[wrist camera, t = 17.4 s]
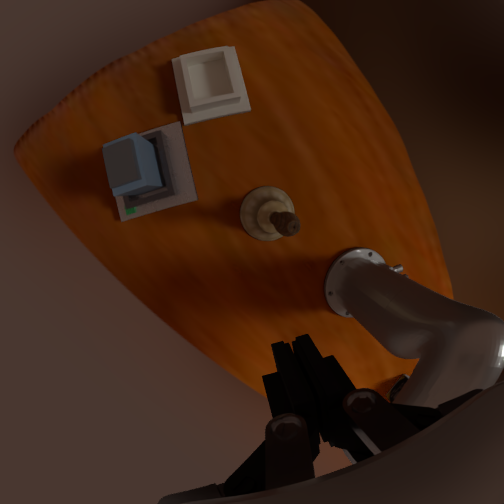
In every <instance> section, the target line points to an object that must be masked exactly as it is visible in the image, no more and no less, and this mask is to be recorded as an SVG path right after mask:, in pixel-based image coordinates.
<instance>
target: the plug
mask: <svg viewBox="0 0 504 504" xmlns="http://www.w3.org/2000/svg"><path fill="white" fill-rule="evenodd" d="M102 152H103V157H104V162H105V167H106V172H107V177H108V181H109V186H110V188H112V191H113V195H114V197H115V196H129V195H142V194H145V193H148V192H151V191H154V190H157V189H160V188H164V187H166V183H165V179H164V174H163V170H162V166H161V162H160V157H159V153H158V148H157V147H156V146H154V145H153V144H152V143H150V142H149V141H147V140H146V139H144V138H143V137H142V136H140V135H139V134H137V133H136V132H135V133H132V134H130V135H127V136H124V137H122V138H119V139H116V140H114V141H111V142H109V143H106V144H104V145H103V148H102Z"/></svg>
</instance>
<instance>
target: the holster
mask: <svg viewBox="0 0 504 504" xmlns="http://www.w3.org/2000/svg"><path fill="white" fill-rule="evenodd" d="M172 65H173V70H174V75H175V81H176V86H177V91H178V96H179V101H180V106H181V111H182V115H183V120H184V125H185V126H186V125H190V124H194V123H198V122H202V121H206V120H210V119H215V118H219V117H224V116H229V115H234V114H239V113H244V112H250V111H251V108H250V104H249V100H248V96H247V92H246V88H245V84H244V81H243V77H242V73H241V69H240V66H239V62H238V58H237V55H236V51H235V47H234V46H233V47H228V46H224V47H218V48H212V49H207V50H202V51H197V52H193V53H189V54H184V55H180V57H178V58H175V59H172Z"/></svg>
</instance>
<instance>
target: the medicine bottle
mask: <svg viewBox="0 0 504 504" xmlns="http://www.w3.org/2000/svg"><path fill="white" fill-rule="evenodd" d="M409 377H410V376H408V375H405V374H403V375H402V376H401V377H400V379H399V380H398V381H397V382H396V383H395V385H394V386H393V387H392V388H391V389H390V391H389V392H388V393H387V394H386V397H387V398H388V400H389V401H390V402H391V403H392V402H393V401H394V399H395V398H396V397H397V395H398V394H399V392H400V391H401V389H402V388H403V386H404V385H405V383H406V382H407V380H408V379H409Z"/></svg>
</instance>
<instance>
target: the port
mask: <svg viewBox="0 0 504 504" xmlns="http://www.w3.org/2000/svg"><path fill="white" fill-rule="evenodd" d="M139 135H140V136H142V137H143V138H144V139H146V140H147V141H149V142H150V143H152V144H153V145H154V146H156V147H157V148H158V153H159V157H160V162H161V166H162V170H163V174H164V179H165V183H166V187H164V188H160V189H157V190H154V191H151V192H148V193H145V194H142V195H129V196H115V198H116V202H117V206H118V210H119V214H120V218H121V222H123V221H126V220H129V219H132V218H135V217H139V216H142V215H145V214H149V213H152V212H155V211H159V210H162V209H166V208H169V207H173V206H177V205H180V204H184V203H188V202H191V201H195V200H198V196H197V192H196V188H195V183H194V179H193V175H192V171H191V166H190V162H189V157H188V153H187V148H186V144H185V139H184V135H183V130H182V125H181V122H180V121H179V122H175V123H172V124H168V125H165V126H162V127H158V128H155V129H152V130H149V131H146V132H143V133H140V134H139Z"/></svg>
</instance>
